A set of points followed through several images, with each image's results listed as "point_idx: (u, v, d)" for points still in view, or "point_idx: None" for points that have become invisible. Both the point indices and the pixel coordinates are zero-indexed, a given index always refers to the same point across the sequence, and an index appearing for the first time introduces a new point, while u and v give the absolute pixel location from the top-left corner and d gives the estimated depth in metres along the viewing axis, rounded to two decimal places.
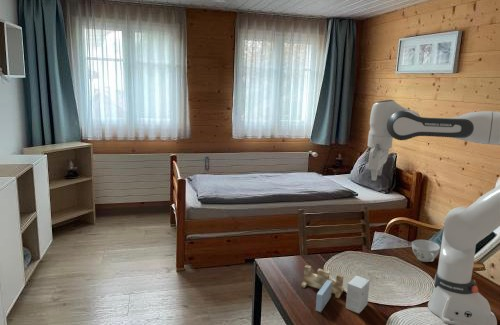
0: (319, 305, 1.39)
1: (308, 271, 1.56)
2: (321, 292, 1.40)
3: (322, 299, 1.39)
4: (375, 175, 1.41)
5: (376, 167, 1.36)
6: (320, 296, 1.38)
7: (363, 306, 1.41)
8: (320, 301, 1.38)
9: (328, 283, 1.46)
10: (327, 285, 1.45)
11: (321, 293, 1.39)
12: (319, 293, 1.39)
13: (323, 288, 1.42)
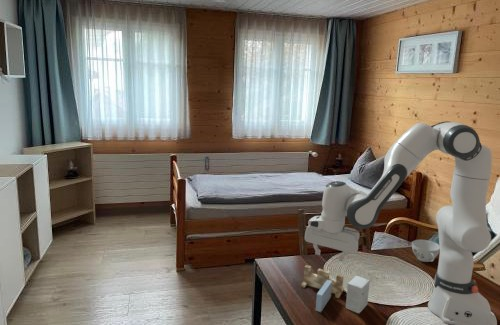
0: (319, 305, 1.39)
1: (308, 271, 1.56)
2: (321, 292, 1.40)
3: (322, 299, 1.39)
4: None
5: (357, 247, 1.39)
6: (320, 296, 1.38)
7: (363, 306, 1.41)
8: (320, 301, 1.38)
9: (328, 283, 1.46)
10: (327, 285, 1.45)
11: (321, 293, 1.39)
12: (319, 293, 1.39)
13: (323, 288, 1.42)
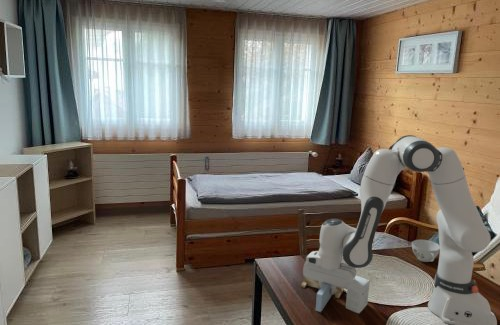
0: (319, 305, 1.39)
1: None
2: (321, 292, 1.40)
3: (322, 299, 1.39)
4: None
5: None
6: (320, 296, 1.38)
7: (363, 306, 1.41)
8: (320, 301, 1.38)
9: None
10: (327, 285, 1.44)
11: (321, 293, 1.39)
12: (319, 293, 1.39)
13: (323, 288, 1.42)
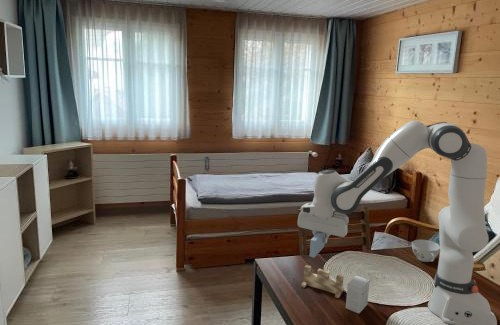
0: (313, 250, 1.45)
1: (308, 271, 1.56)
2: (314, 238, 1.45)
3: (316, 245, 1.45)
4: None
5: None
6: (314, 242, 1.44)
7: (363, 306, 1.41)
8: (314, 246, 1.44)
9: (321, 232, 1.52)
10: (320, 233, 1.50)
11: (315, 239, 1.45)
12: (313, 239, 1.45)
13: (317, 235, 1.48)
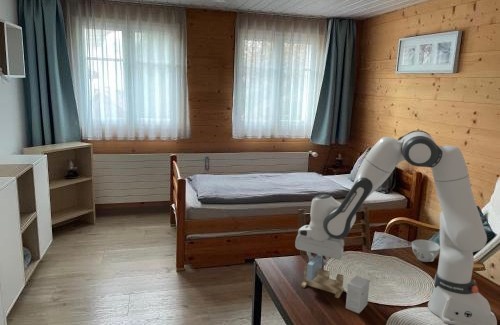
0: (310, 274, 1.50)
1: None
2: (311, 262, 1.51)
3: (312, 269, 1.50)
4: (327, 260, 1.57)
5: None
6: (311, 266, 1.49)
7: (363, 306, 1.41)
8: (311, 270, 1.50)
9: (319, 256, 1.57)
10: (317, 257, 1.56)
11: (312, 263, 1.50)
12: (310, 263, 1.50)
13: (314, 259, 1.54)
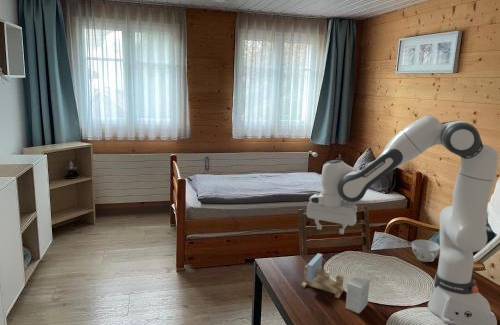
0: (310, 275, 1.50)
1: None
2: (311, 263, 1.51)
3: (312, 269, 1.50)
4: (344, 228, 1.52)
5: None
6: (311, 266, 1.49)
7: (363, 306, 1.41)
8: (310, 271, 1.50)
9: (318, 256, 1.57)
10: (317, 257, 1.56)
11: (311, 264, 1.50)
12: (310, 264, 1.50)
13: (313, 260, 1.54)
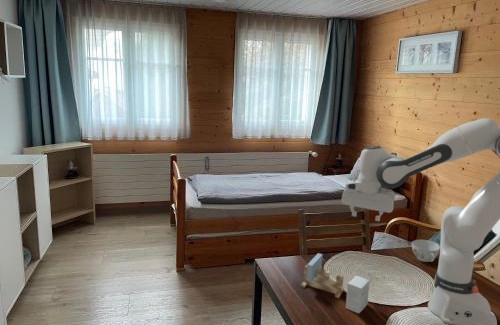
0: (310, 275, 1.50)
1: None
2: (311, 263, 1.51)
3: (312, 269, 1.50)
4: (380, 215, 1.51)
5: None
6: (311, 266, 1.49)
7: (363, 306, 1.41)
8: (310, 271, 1.50)
9: (318, 256, 1.57)
10: (317, 257, 1.56)
11: (311, 264, 1.50)
12: (310, 264, 1.50)
13: (313, 260, 1.54)
